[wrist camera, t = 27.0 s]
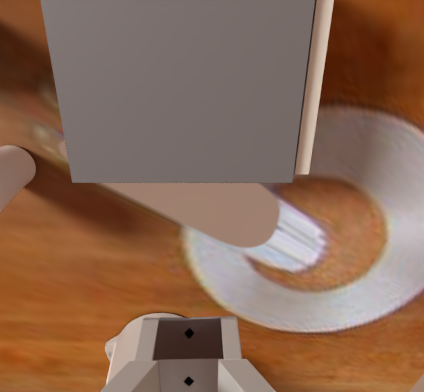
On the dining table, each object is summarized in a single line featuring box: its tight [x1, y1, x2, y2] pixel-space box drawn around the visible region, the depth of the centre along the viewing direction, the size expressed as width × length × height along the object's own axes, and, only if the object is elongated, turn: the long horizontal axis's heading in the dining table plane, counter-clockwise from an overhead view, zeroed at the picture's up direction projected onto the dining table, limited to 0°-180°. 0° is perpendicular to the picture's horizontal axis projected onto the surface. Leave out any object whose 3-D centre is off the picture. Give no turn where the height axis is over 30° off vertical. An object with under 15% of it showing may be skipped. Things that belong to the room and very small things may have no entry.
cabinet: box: [41, 0, 315, 183], centre depth 31 cm, size 18×18×16 cm
